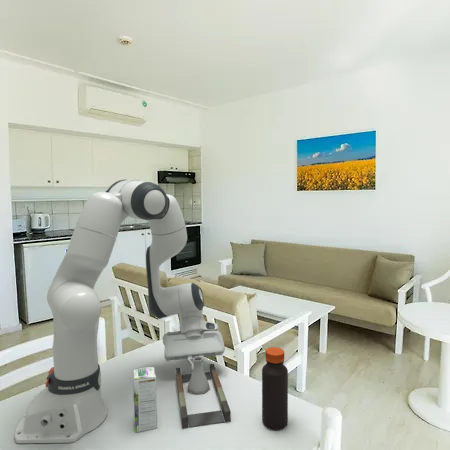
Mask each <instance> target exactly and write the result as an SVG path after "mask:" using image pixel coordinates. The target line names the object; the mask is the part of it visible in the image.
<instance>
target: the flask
mask: <svg viewBox="0 0 450 450" xmlns="http://www.w3.org/2000/svg"><path fill="white" fill-rule="evenodd" d="M203 361H204V357H200V356H195V357H194V358H192V362H193V364H194V368H193V372H192V371H191V374H192V375H191V378H190V381H189V382H188V384H187V392H188V393H190V394H193V395H202V394H203V395H204V394H206V393H207V392H208V391H209V390H211V389H210V383H209V381H208V380H207V378H206V376H205V373H204V372H205V371H204V367H203Z"/></svg>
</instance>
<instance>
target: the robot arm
mask: <svg viewBox="0 0 450 450" xmlns="http://www.w3.org/2000/svg"><path fill="white" fill-rule="evenodd" d="M126 218H131V219H132V218H133V219H139V220H145V221H147V223H148V224H149V229H150V232H151V244H150V245H149V246H147V247H146V251H145V252H146V253H145V271H146V272H145V273H146V283H147V294H148V298H147V306H148V311H149V313H150V314H151V315H152V316H153V317H154V318H157V319H159V320H160V319H164V318H168V317H171V316H175V315H176V316H177V315H179V321H178V322H179V331H178V330H176V331H168V332H166V333H165V334H163V335H162V343H163V346H164V355H163V356H164V357H163V358H164V359H165V361H166V362H169V361H176V360H178V361H179V360H187V363H188V365H189V366H190V367H191V373H192V372H193V368H194V362H193V358H194V357H195V356H200V357H203V358H207V357H217V356H222V355H223V354H224V353H225V351H226V348H225V343H224V338H223V335H222V333H221V332H220V331H219V325H218V323H216V322H211V321H206V320H205V318H204V316H203V311H204V306H205V301H204V294H203V293H204V292H203V289H202V288H201V287H200V286H198V285H197V284H196V283H195V282H188V283H181V284H177V285H173V286H167V287H162V285H161V275H160V266H161V265H163V264H164V263H165V262H166V261H168V260H170V259H172V258H173V257H175V256H177V255H178V254H179V253H181V251H182V250H183V249H184V248H185V247H186V244H187V243H188V242H187V241H188V233H187V232H188V231H187V226H186V222H185V219H184V216H183V212H182V209H181V206H180V205H179V201H177V198H176V197H175V196H174V195H172V194H168V193H166V192H165V190H164V189H163V188H162V187H161V186H160V185H158V184H156V183H154V182H151V181H143V180H140V179H120V180H118V181H116V182H113V184H111V185H110V186H109V188H108V189H107V190H105V191H98V192H94V193H92V194H91V195H90V196H89V197H88V199H87V200H86V202H85V204H84V206H83V208H82V210H81V212H80V213H79V216H78V218H77V221H76V224H75V227H74V229H73V232H72V235H71V238H70V240H69V243H68V247H67V249H66V252H65V255H64V257H63V258H62V261H61V263H60V265H59V266H58V269H57V270H56V272H55V275H54V277H53V278H52V282H51V284H50V286H49V287H48V290H47V294H46V301H47V304H48V306H49V308H50V310H51V313H52V317H53V318H52V319H53V339H52V340H53V341H52V359H53V360H52V361H53V367H51V368H50V370H49V371H48V375H47V377H46V380H45V388H44V389H42V390H40V392H39V393H37V394H36V395H35V396H34V397H33V398H32V399H31V401H30V402H29V403H28V406H27V408H26V411H25V414H24V415H23V417H22V418H21V419H20V421H19V422H18V424H17V426H16V428H15V431H14V441H15V443H16V444H57V443H59V444H61V443H65V444H66V443H68V444H70V443H75V442H77V441H78V440H79V439H80V438H82V437H83V436H84V435H86V434H88V433H90V432H91V431H92V430H95V429H96V428H97V427H99V426H100V425H101V424H103V422H104V421H105V420H106V418H107V413H108V410H107V408H106V406H105V403H104V400H103V395H102V390H101V386H102V373H101V372H102V371H101V366H100V364H99V355H98V353H99V352H98V333H99V324H100V317H101V313H102V304H101V301H100V297H99V295H98V293H97V292H96V291H95V290H94V289H95V285H96V284H97V282H98V279H99V278H100V276H101V274H102V273H103V271H104V269H105V268H107V267H108V264H109V261H110V259H111V256H112V252H113V250H114V246H115V243H116V241H117V237H118V234H119V231H120V227H121V225H122V224H123V222H124V221H125V220H126Z"/></svg>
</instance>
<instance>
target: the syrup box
mask: <svg viewBox="0 0 450 450" xmlns="http://www.w3.org/2000/svg"><path fill="white" fill-rule="evenodd" d="M157 406H158V405H157V376H156V370H155V367H151V366H150V367H149V366H148V367H142V368H141V367H140V368H137V369H133V415H134V416H133V417H134V418H133V419H134V421H133V422H134V423H133V424H134V432H135V433H139V432H144V431H150V430H154V429H157V428H158V414H157V413H158V410H157V409H158V408H157Z"/></svg>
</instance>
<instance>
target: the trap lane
mask: <svg viewBox="0 0 450 450" xmlns="http://www.w3.org/2000/svg"><path fill="white" fill-rule="evenodd" d="M204 373H205V376H206V378H207V380H212V384H213V387H214V390H215V394H216V396H217V400H218V403H219V408H220V409H219V410H214V411H206V412H197V413H192V414H188V409H187V401H186V396H185V388H184V384H185V383H189V381H190V378H191V375H192V373H188V374H182V371H181V367H176V368H175V379H176V385H177V386H176V387H177V395H178V402H179V410H180V411H179V412H180V419H181V427H182V429H188V428H189V429H190V428H195V427H204V426H210V425H216V424H224V423H230V422H231V420H232V419H231V418H232V417H231V408H230V405H229V403H228V401H227V397H226V394H225V391H224V388H223V385H222V383H221V380H220V378H219V377H220V376H219V375H218V371H217V368H216V366H215V364H214V363H210V364H209V371H204Z"/></svg>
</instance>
